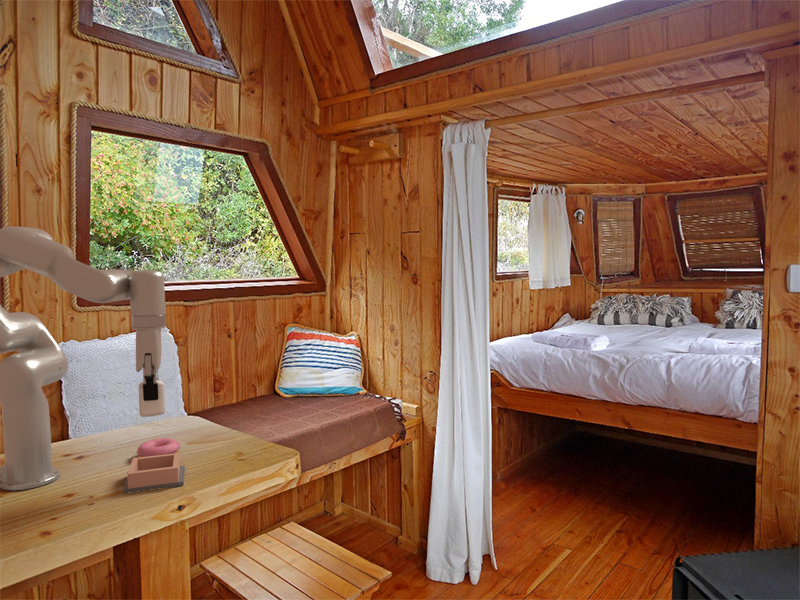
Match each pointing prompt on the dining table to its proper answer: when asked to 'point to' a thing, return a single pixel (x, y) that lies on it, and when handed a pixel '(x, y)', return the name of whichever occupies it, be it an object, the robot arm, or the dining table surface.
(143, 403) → the squeeze bottle
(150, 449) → the doughnut
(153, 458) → the socket stand
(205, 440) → the dining table surface
